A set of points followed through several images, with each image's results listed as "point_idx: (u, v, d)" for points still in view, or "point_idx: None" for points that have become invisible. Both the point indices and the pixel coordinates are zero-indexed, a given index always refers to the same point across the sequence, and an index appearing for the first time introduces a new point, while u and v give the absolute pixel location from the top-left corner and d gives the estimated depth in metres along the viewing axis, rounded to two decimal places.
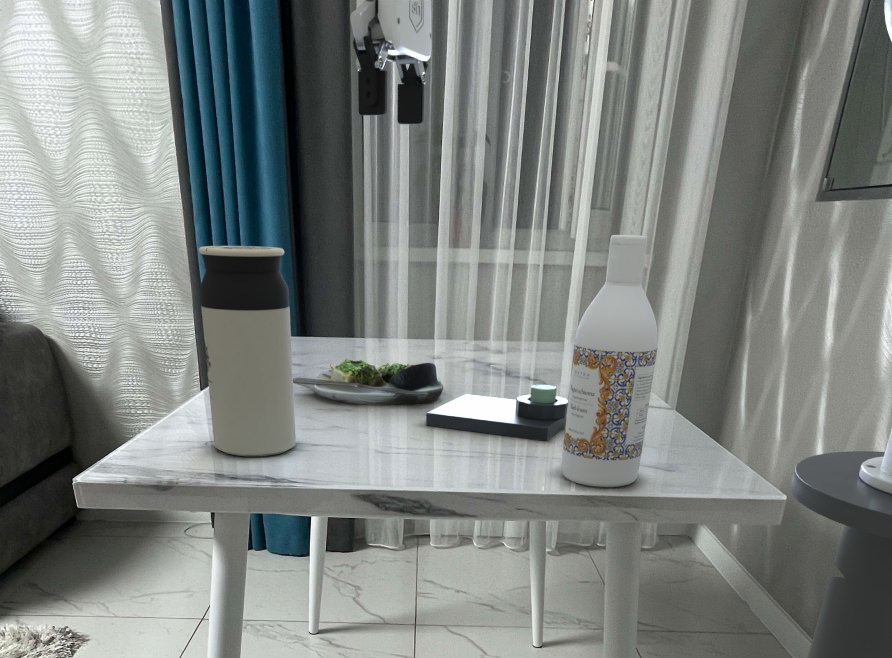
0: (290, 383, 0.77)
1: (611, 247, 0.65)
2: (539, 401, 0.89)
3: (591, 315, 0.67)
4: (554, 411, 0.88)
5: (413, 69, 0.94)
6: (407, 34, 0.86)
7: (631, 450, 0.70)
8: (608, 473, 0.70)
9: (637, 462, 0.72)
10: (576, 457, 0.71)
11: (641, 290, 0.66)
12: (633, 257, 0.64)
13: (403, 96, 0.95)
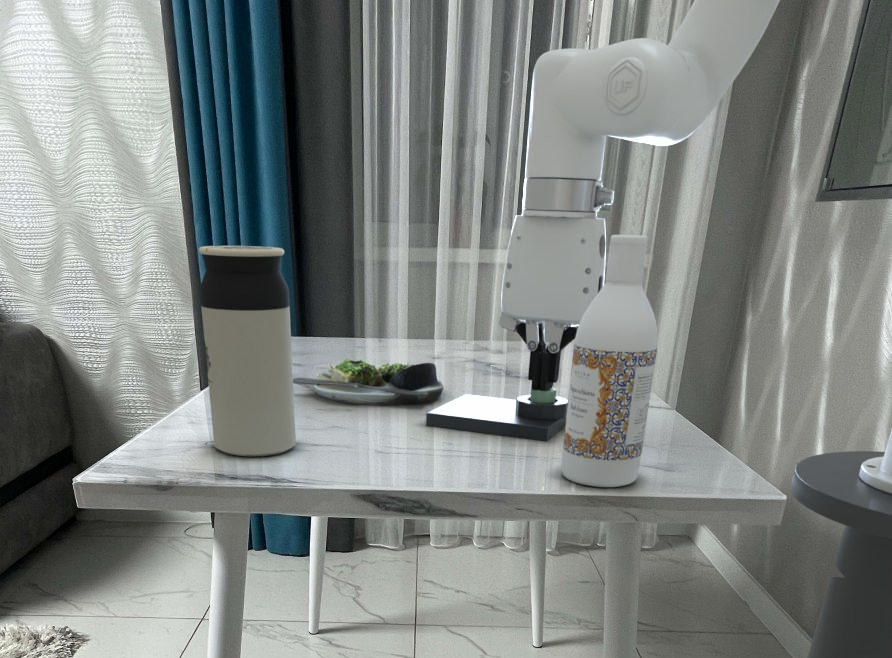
0: (290, 383, 0.77)
1: (611, 247, 0.65)
2: None
3: (591, 315, 0.67)
4: (554, 411, 0.88)
5: None
6: None
7: (631, 450, 0.70)
8: (608, 473, 0.70)
9: (637, 462, 0.72)
10: (576, 457, 0.71)
11: (641, 290, 0.66)
12: (633, 257, 0.64)
13: (541, 363, 0.88)
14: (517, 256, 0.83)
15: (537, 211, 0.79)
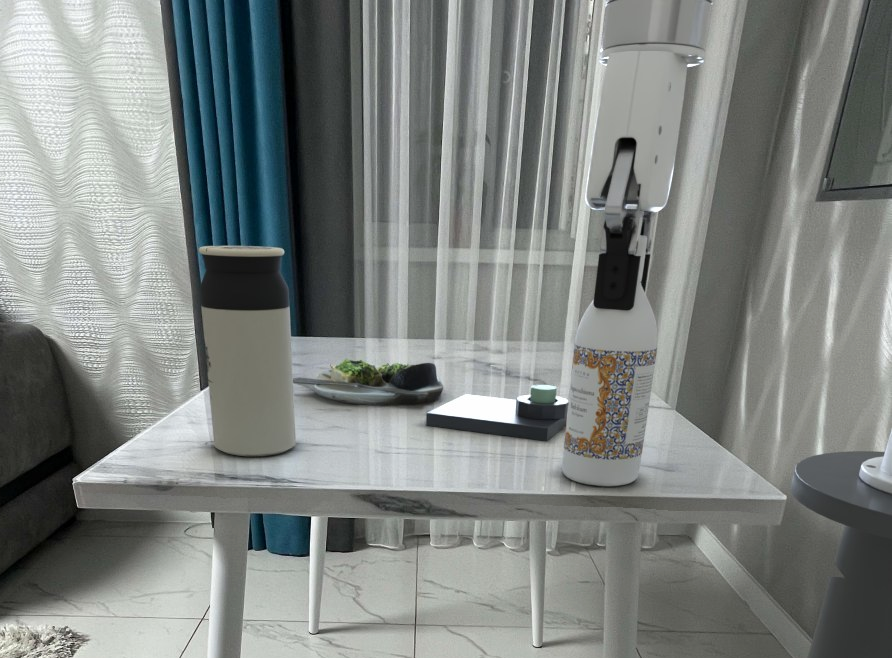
0: (290, 383, 0.77)
1: None
2: (539, 401, 0.89)
3: (591, 315, 0.67)
4: (554, 411, 0.88)
5: None
6: None
7: (631, 449, 0.70)
8: (608, 472, 0.71)
9: (637, 461, 0.72)
10: (576, 456, 0.71)
11: (640, 289, 0.66)
12: None
13: None
14: (666, 116, 0.58)
15: (698, 49, 0.57)
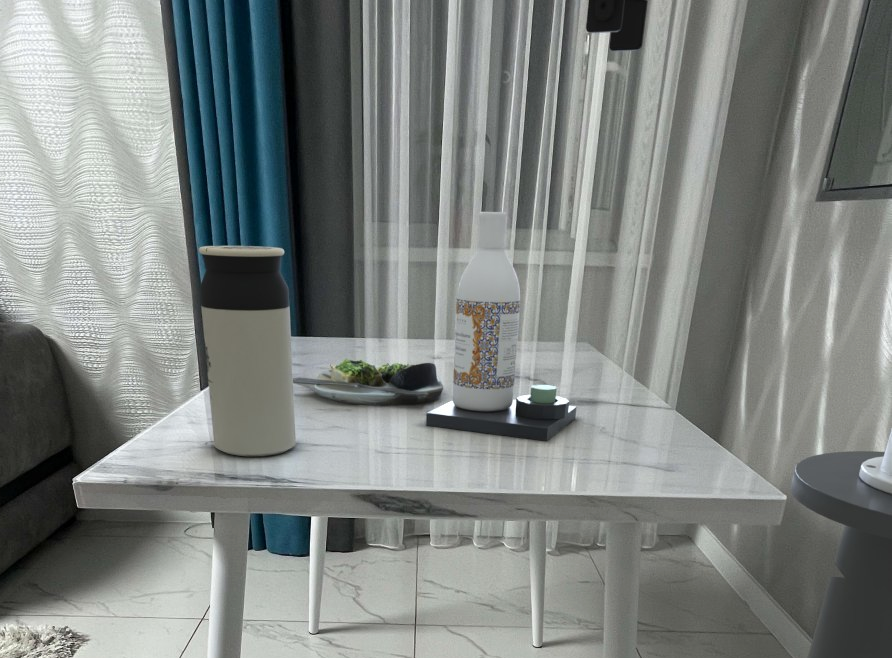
0: (290, 383, 0.77)
1: (479, 221, 0.85)
2: (539, 401, 0.89)
3: (466, 274, 0.86)
4: (554, 411, 0.88)
5: None
6: None
7: (502, 381, 0.90)
8: (485, 400, 0.90)
9: (509, 392, 0.91)
10: (460, 387, 0.91)
11: (503, 254, 0.85)
12: (495, 228, 0.84)
13: None
14: None
15: None
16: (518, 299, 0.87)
